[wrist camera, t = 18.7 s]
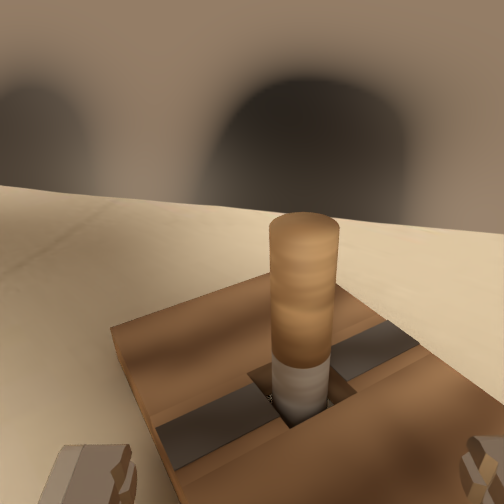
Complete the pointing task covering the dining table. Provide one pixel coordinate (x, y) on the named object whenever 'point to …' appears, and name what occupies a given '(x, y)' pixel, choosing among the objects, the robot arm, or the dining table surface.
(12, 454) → the dining table surface
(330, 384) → the board
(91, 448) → the robot arm
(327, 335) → the tall two-tone tube
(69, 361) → the dining table surface
